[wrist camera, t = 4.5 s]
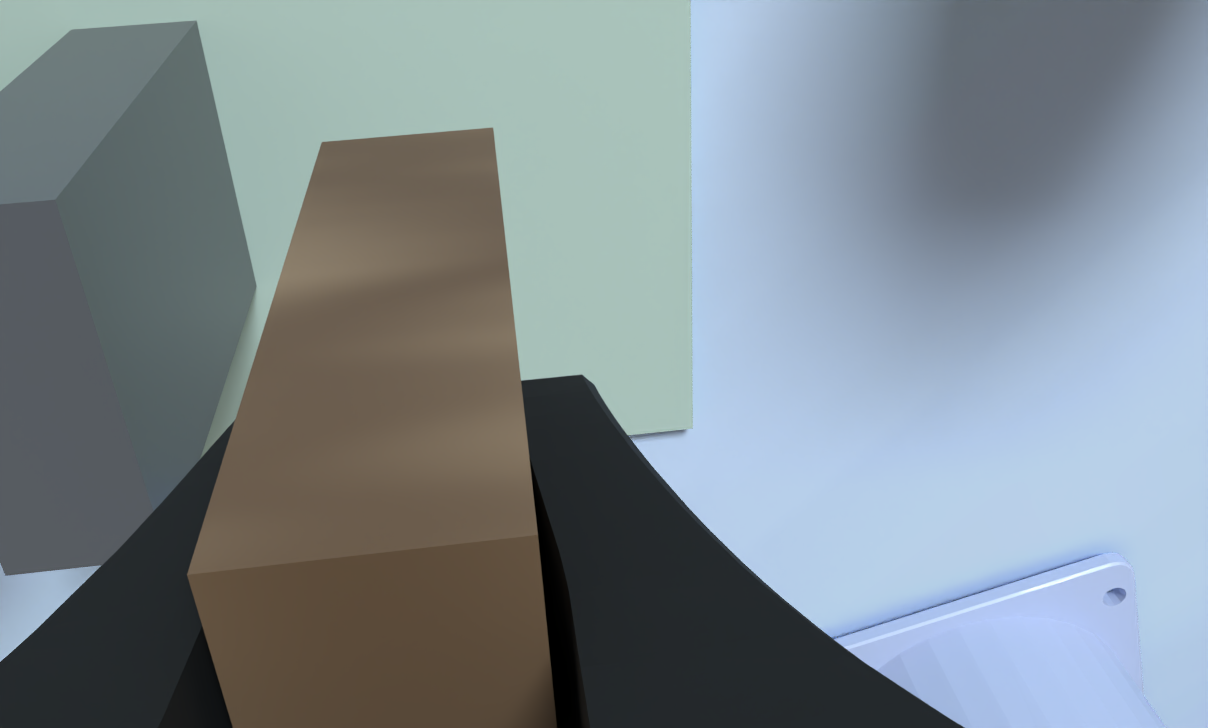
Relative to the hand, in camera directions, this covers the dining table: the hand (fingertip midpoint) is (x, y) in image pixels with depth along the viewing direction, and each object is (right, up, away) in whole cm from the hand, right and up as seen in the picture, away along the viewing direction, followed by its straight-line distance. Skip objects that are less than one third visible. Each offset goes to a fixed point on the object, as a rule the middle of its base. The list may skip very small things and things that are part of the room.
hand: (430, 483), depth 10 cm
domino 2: (0, +2, +3) cm, 3 cm away
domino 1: (-5, +4, +8) cm, 10 cm away
